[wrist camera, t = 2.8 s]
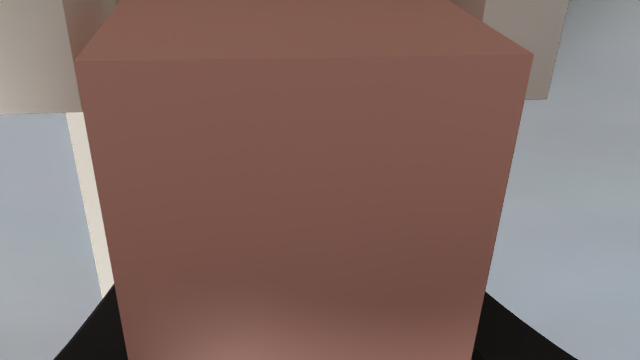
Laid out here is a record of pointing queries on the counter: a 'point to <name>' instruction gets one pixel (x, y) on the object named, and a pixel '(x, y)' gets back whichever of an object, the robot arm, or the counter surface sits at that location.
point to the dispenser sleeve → (98, 3)
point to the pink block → (300, 174)
